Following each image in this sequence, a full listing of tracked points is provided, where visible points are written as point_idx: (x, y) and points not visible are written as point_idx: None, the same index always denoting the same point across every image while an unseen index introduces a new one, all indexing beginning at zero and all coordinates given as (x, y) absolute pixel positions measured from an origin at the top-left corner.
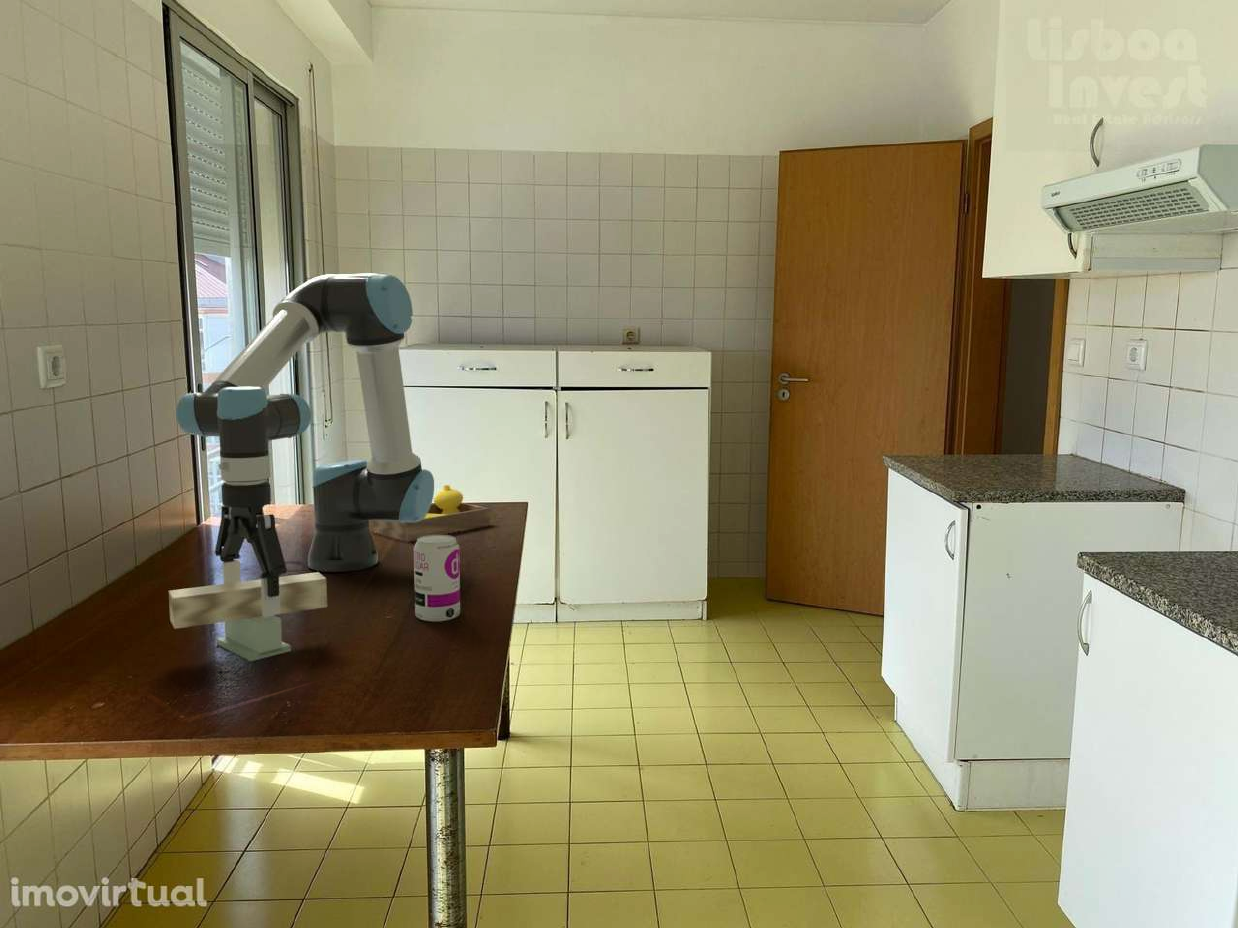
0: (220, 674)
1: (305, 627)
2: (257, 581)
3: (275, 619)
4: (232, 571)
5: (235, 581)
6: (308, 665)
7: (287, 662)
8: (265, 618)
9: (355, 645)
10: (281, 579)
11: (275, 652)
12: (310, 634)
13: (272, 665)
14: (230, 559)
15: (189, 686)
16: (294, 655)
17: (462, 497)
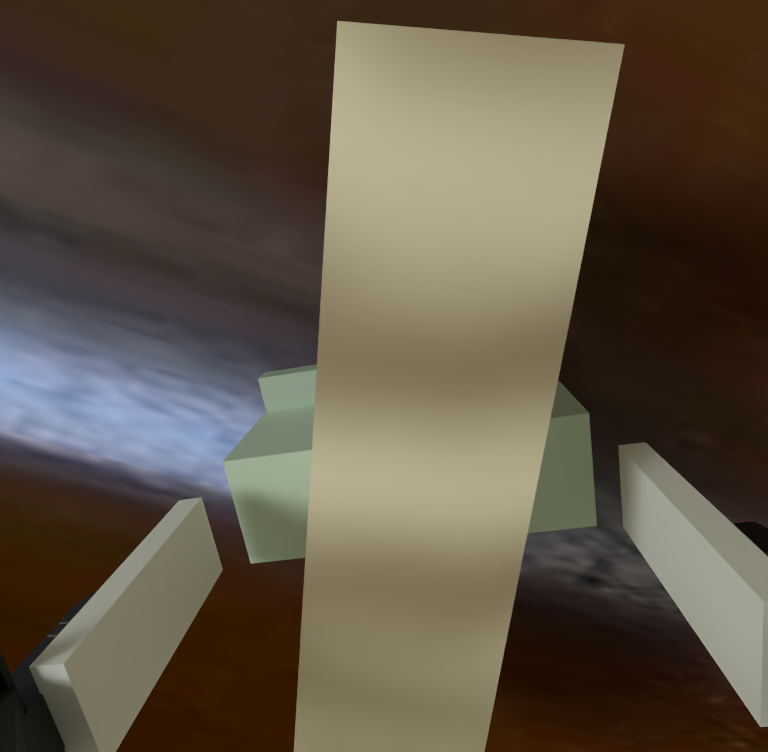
0: (612, 587)
1: (268, 167)
2: (355, 541)
3: (590, 440)
4: (132, 653)
5: (164, 584)
6: (751, 332)
7: (658, 383)
8: (541, 473)
9: (661, 61)
10: (401, 391)
11: None
12: None
13: (649, 436)
14: (41, 731)
15: (651, 676)
16: (599, 335)
17: None
